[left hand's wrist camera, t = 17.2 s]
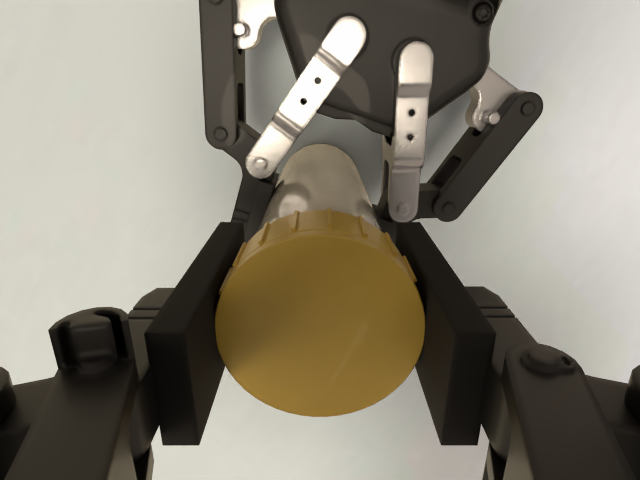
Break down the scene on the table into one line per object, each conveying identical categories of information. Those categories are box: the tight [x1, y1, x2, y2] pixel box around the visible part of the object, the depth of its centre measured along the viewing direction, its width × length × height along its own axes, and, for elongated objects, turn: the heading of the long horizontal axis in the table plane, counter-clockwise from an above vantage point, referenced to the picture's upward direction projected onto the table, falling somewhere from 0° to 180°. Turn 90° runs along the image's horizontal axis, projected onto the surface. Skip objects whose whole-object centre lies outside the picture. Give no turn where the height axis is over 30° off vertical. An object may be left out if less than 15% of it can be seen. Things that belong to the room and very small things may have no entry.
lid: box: [215, 208, 426, 417], centre depth 11 cm, size 5×5×2 cm
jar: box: [258, 144, 383, 232], centre depth 18 cm, size 5×5×15 cm
